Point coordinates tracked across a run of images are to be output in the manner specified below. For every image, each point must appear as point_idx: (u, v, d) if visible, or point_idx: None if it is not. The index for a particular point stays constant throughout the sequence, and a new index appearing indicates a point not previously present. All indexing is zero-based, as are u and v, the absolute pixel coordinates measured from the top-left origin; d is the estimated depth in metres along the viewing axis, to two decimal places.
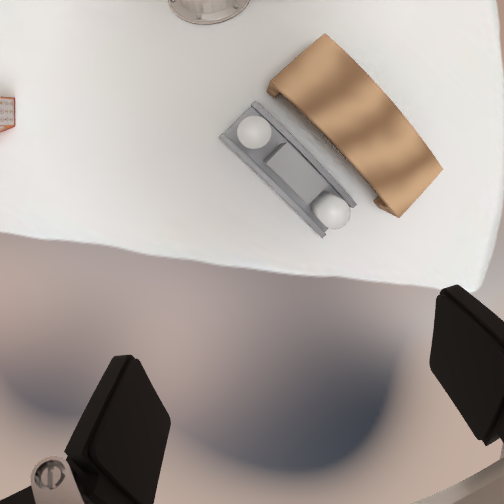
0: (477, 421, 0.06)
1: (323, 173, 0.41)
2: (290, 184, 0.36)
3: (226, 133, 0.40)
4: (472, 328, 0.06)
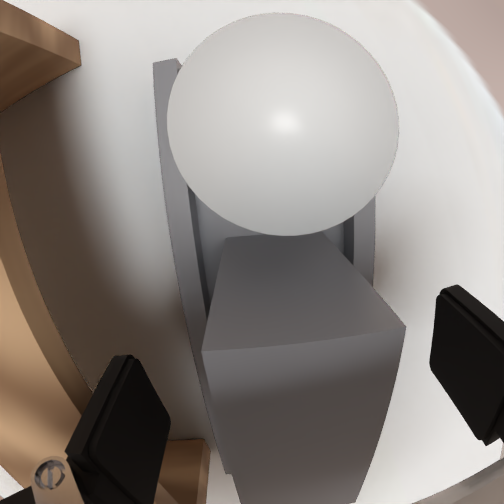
0: (477, 421, 0.06)
1: (189, 252, 0.10)
2: (369, 442, 0.06)
3: None
4: (472, 328, 0.06)
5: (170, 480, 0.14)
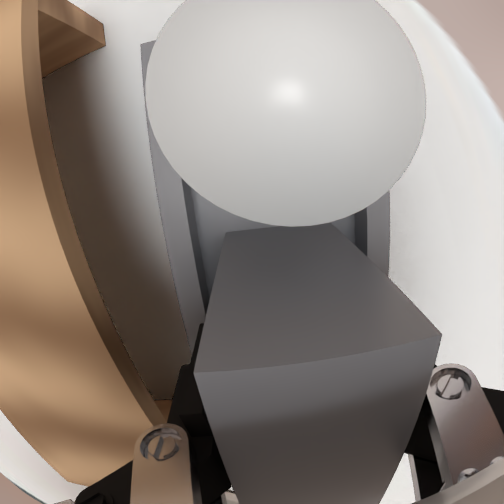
0: None
1: (185, 249, 0.09)
2: (391, 460, 0.05)
3: None
4: None
5: None
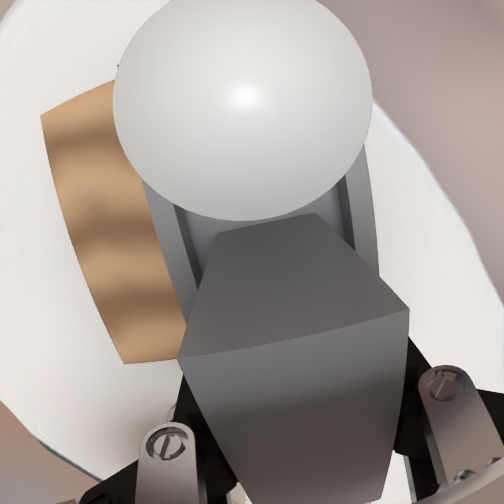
0: None
1: (179, 252, 0.10)
2: (385, 438, 0.05)
3: None
4: None
5: None
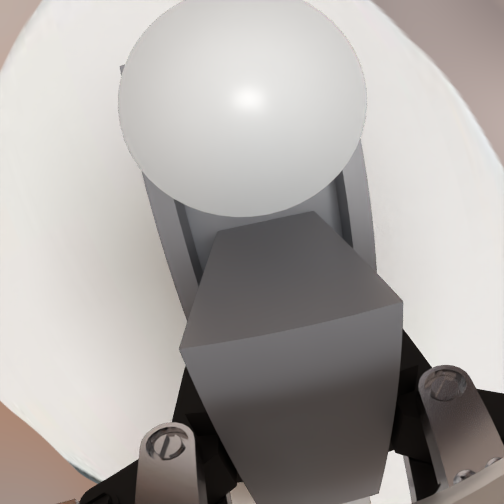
0: None
1: (180, 250, 0.10)
2: (382, 431, 0.05)
3: None
4: None
5: None
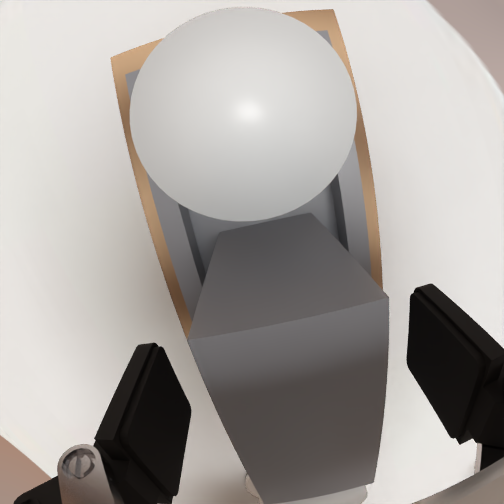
0: (450, 419, 0.06)
1: (184, 250, 0.11)
2: (373, 419, 0.06)
3: None
4: (442, 326, 0.07)
5: None
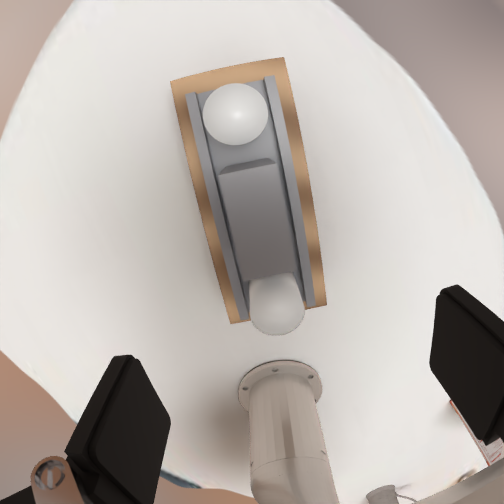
0: (477, 421, 0.06)
1: (210, 172, 0.24)
2: (282, 216, 0.19)
3: (301, 299, 0.29)
4: (472, 328, 0.06)
5: None
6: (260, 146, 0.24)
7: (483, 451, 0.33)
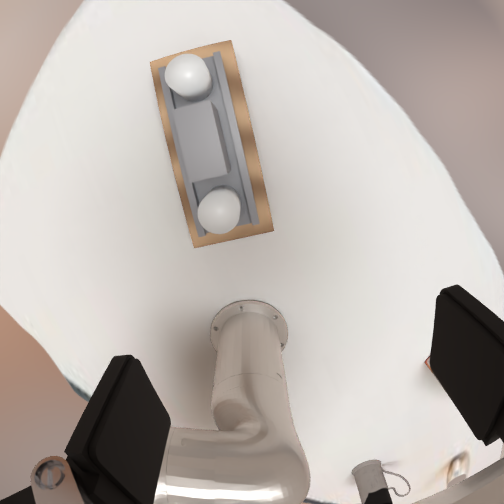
0: (477, 421, 0.06)
1: (174, 119, 0.31)
2: (215, 134, 0.26)
3: (249, 221, 0.36)
4: (472, 328, 0.06)
5: None
6: (211, 101, 0.31)
7: None
